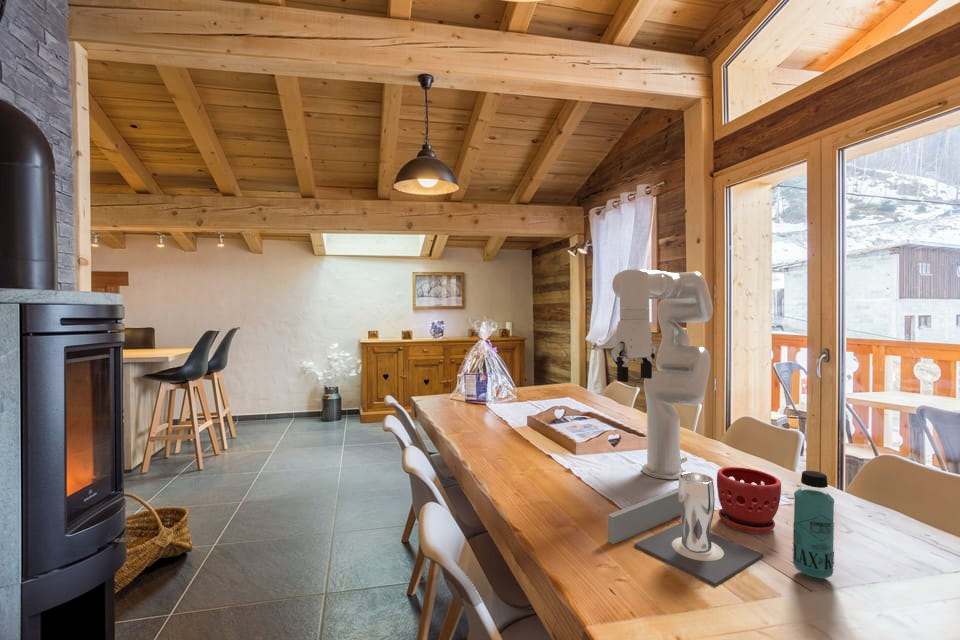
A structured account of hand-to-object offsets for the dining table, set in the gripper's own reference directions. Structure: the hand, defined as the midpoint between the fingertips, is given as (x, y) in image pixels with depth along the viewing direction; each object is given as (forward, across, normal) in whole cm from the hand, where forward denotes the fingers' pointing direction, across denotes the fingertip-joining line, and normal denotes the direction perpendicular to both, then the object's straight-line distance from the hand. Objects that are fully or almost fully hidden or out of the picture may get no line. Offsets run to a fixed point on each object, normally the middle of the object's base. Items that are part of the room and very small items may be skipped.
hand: (634, 379), depth 126 cm
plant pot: (+32, -9, +25) cm, 42 cm away
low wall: (+32, +10, +12) cm, 36 cm away
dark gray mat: (+32, +12, +25) cm, 43 cm away
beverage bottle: (+32, +3, +43) cm, 54 cm away
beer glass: (+32, +12, +25) cm, 42 cm away
